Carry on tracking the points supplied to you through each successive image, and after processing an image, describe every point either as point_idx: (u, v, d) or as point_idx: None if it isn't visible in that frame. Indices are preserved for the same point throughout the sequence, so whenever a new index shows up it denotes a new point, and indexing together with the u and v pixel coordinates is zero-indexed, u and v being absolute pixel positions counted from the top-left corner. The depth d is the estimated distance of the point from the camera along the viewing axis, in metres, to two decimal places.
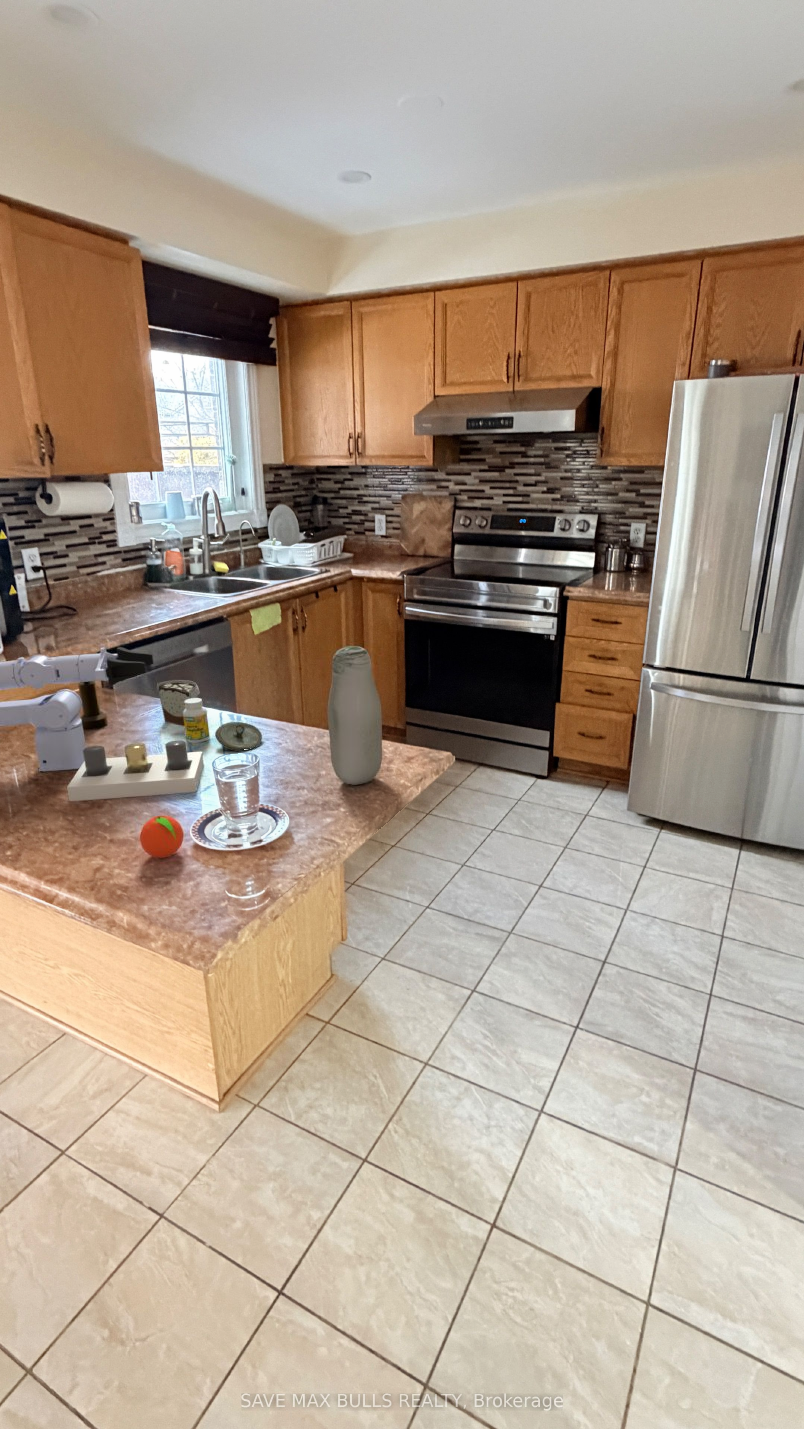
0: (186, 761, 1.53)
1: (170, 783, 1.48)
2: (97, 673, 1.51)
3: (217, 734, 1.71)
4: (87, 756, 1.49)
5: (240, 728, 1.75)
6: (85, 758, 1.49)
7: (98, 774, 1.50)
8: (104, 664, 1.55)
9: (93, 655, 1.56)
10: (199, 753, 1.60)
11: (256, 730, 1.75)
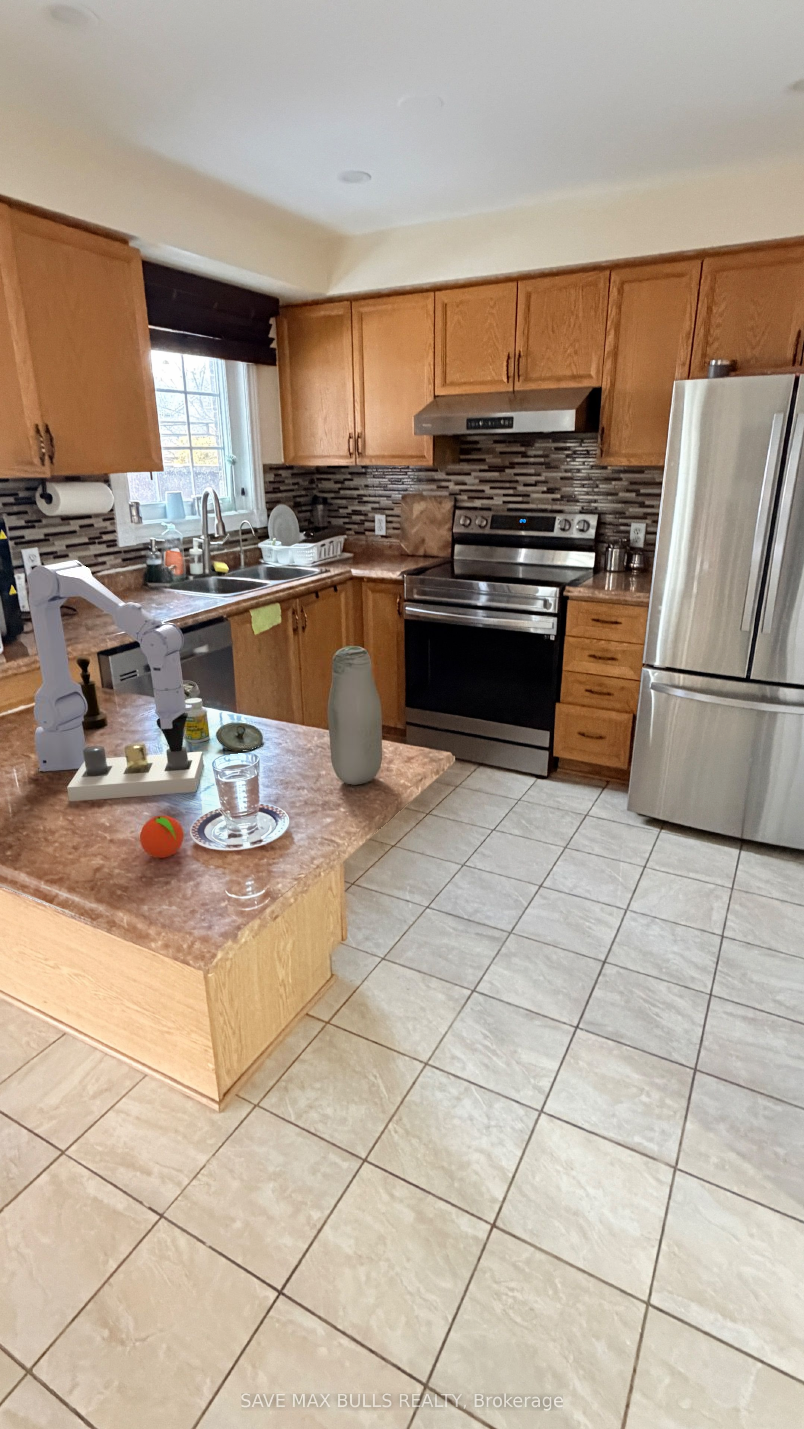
0: (187, 767, 1.54)
1: (170, 783, 1.48)
2: (167, 721, 1.43)
3: (218, 734, 1.70)
4: (87, 756, 1.49)
5: (241, 729, 1.75)
6: (85, 758, 1.49)
7: (98, 774, 1.50)
8: None
9: (183, 700, 1.49)
10: (199, 753, 1.60)
11: (257, 731, 1.75)
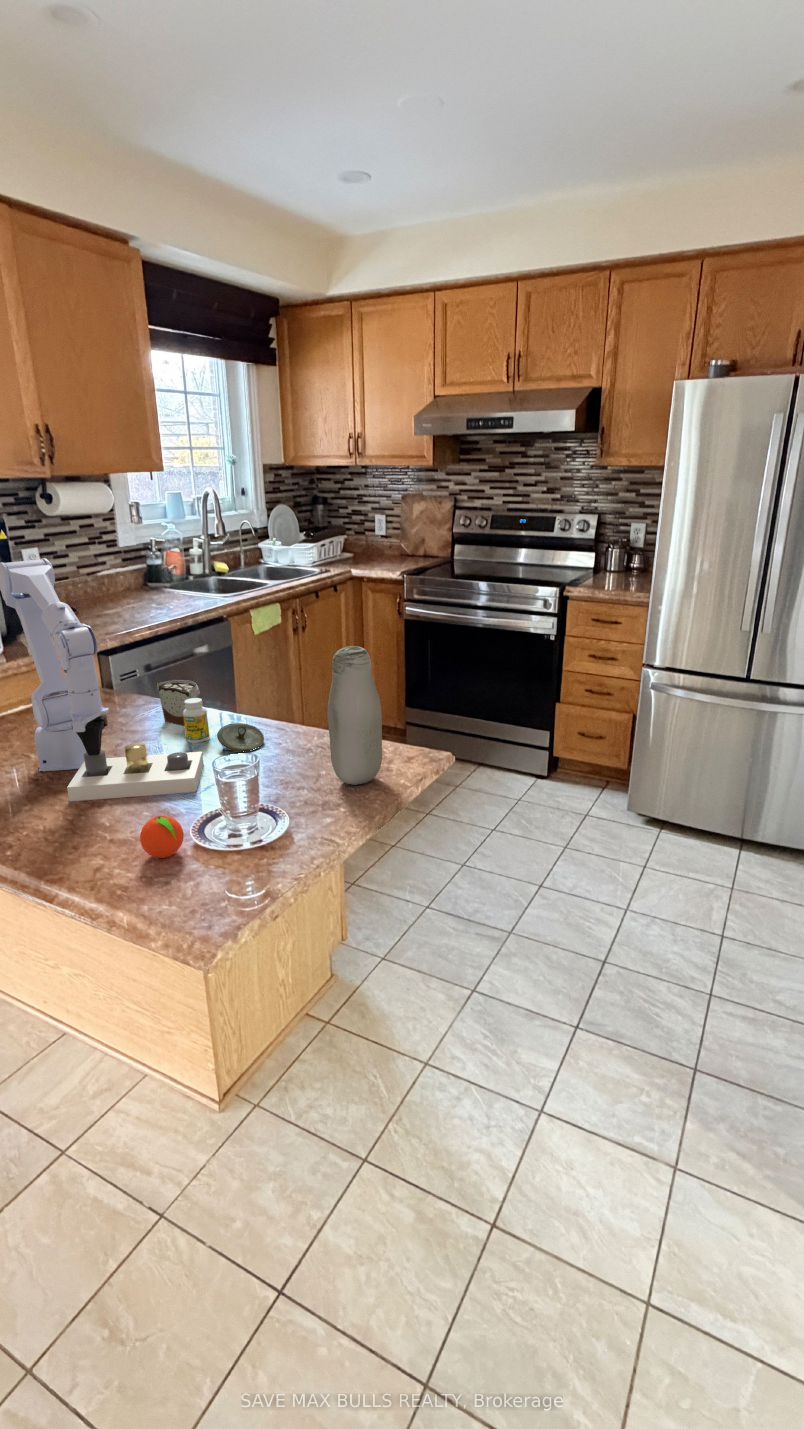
0: None
1: (170, 783, 1.48)
2: (79, 725, 1.41)
3: (219, 735, 1.70)
4: (88, 760, 1.49)
5: (242, 729, 1.74)
6: (86, 762, 1.50)
7: None
8: None
9: (99, 703, 1.47)
10: (199, 753, 1.60)
11: (258, 731, 1.74)
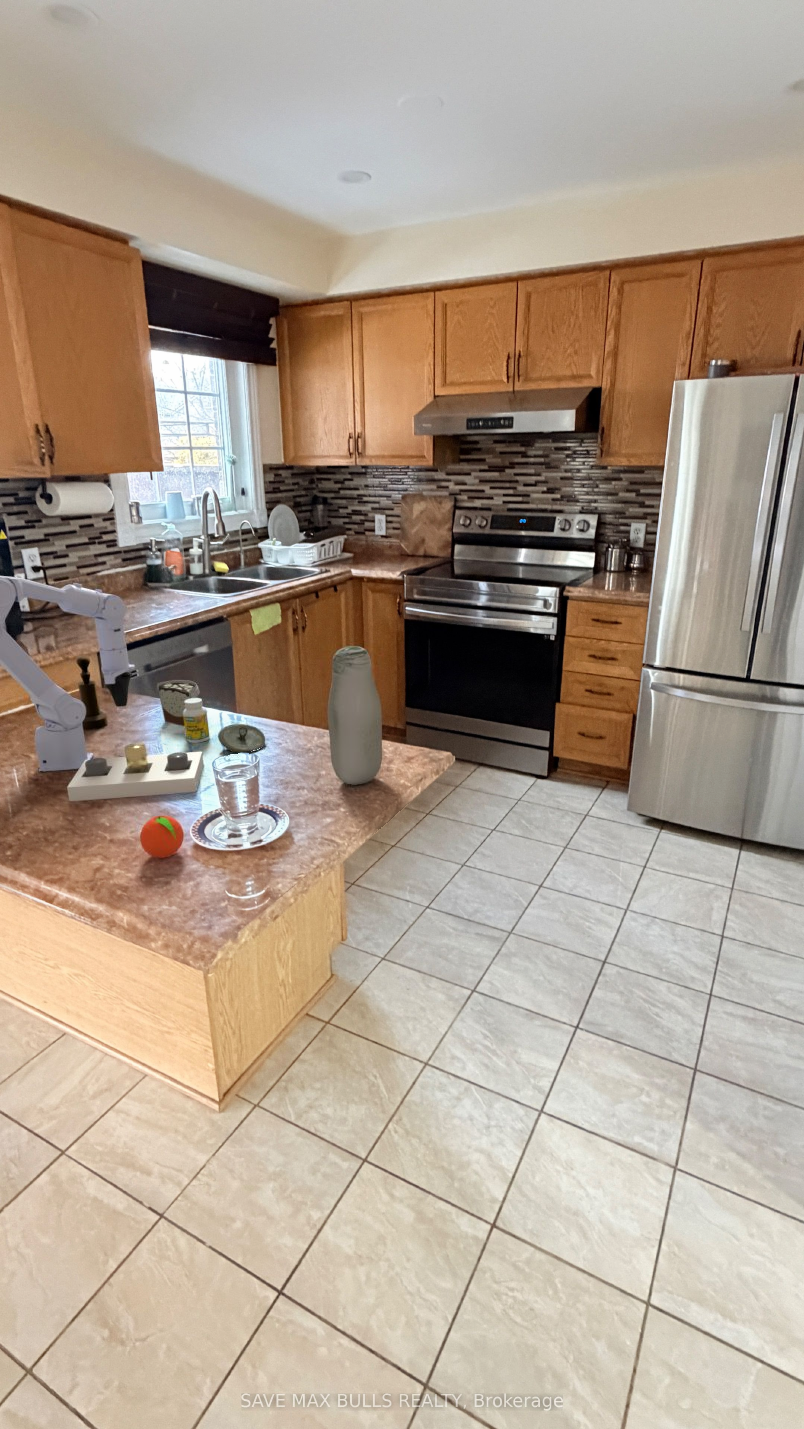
0: None
1: (170, 783, 1.48)
2: (110, 677, 1.62)
3: (220, 736, 1.69)
4: (89, 768, 1.50)
5: (243, 730, 1.74)
6: (87, 770, 1.50)
7: None
8: None
9: (126, 660, 1.68)
10: (199, 753, 1.60)
11: (259, 732, 1.74)
